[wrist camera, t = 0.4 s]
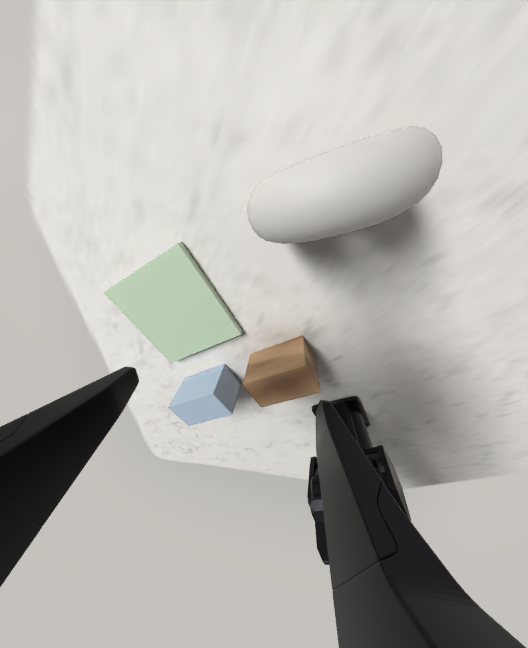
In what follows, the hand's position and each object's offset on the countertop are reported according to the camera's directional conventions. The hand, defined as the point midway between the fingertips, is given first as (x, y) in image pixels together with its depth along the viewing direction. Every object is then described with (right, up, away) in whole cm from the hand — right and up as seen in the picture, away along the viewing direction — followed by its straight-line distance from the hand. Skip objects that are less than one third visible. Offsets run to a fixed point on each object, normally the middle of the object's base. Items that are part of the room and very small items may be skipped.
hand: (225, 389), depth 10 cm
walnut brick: (+4, -1, +16) cm, 16 cm away
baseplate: (-8, +5, +14) cm, 17 cm away
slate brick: (-5, -5, +19) cm, 21 cm away
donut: (+6, +13, +6) cm, 16 cm away
